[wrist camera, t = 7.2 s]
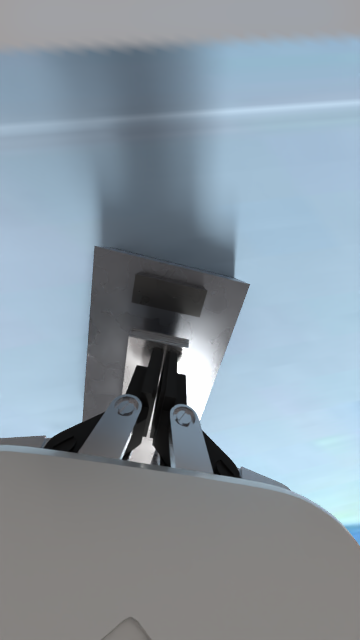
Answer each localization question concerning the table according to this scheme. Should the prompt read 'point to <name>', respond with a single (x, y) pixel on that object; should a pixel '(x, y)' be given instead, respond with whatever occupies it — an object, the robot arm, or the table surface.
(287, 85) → the table surface
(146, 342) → the strap
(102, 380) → the block
